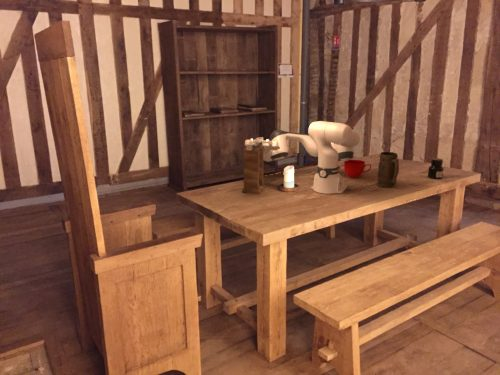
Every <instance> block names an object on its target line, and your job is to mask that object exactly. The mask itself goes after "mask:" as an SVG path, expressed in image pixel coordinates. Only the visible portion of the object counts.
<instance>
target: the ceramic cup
mask: <svg viewBox="0 0 500 375" xmlns="http://www.w3.org/2000/svg"><path fill="white" fill-rule="evenodd" d="M343 166H344V167H343V169H344V172H345V174H346V175H347V177H348V178H351V179H359V178H360V177H361V176H362V174H365V173H368V172H369V171H370V170H371V169H372V165H371V164H370V163H367V164H366V161H363V160H360V159H350V160H348V161H343ZM368 166H369V168H368V169H367V170H365V169H366V167H368Z"/></svg>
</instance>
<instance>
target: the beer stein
mask: <svg viewBox="0 0 500 375" xmlns="http://www.w3.org/2000/svg"><path fill="white" fill-rule="evenodd" d="M377 167H378V168H377V173H376V174H377V176H376V177H377V180H376V181H377V182H376V186H378V187H380V188H386V189H392V188H395V187H396V184H397V178H398V175H399V172H400V171H399V170H400V164H399V159H398V153H396V152H392V151H381V152H380V154H379V161H378V166H377Z"/></svg>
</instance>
